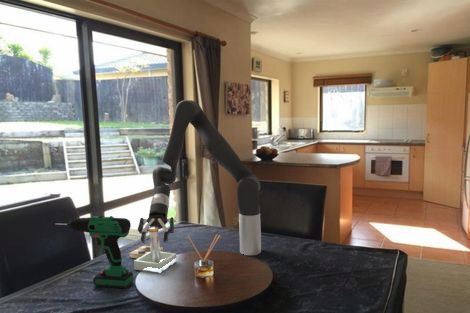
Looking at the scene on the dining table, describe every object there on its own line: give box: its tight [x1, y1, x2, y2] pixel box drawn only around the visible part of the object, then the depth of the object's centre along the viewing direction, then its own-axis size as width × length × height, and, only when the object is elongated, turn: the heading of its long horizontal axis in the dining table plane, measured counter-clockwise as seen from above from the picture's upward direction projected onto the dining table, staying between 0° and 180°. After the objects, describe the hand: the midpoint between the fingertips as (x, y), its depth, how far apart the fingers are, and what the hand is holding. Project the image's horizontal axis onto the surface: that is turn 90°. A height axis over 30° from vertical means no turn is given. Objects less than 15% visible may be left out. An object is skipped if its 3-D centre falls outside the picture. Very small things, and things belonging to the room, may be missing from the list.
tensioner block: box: [129, 245, 164, 259], centre depth 160 cm, size 10×10×3 cm
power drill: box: [54, 215, 134, 289], centre depth 132 cm, size 6×29×25 cm, turn 78°
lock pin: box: [148, 226, 160, 263], centre depth 147 cm, size 4×4×15 cm
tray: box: [133, 251, 177, 271], centre depth 148 cm, size 12×12×4 cm
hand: (153, 242), depth 145 cm, fingers open, 8 cm apart
